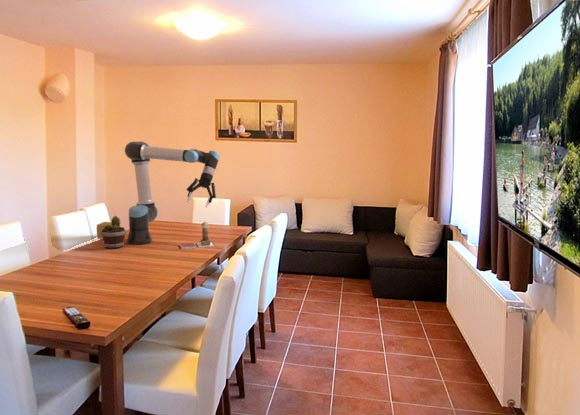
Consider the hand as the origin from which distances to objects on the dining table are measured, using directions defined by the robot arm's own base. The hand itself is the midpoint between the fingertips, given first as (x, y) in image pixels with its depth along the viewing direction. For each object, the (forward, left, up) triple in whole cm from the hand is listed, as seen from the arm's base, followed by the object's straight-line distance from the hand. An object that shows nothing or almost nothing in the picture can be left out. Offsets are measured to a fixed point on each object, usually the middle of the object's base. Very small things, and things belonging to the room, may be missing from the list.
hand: (197, 204), depth 286 cm
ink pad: (+10, -7, -25) cm, 28 cm away
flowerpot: (-1, -51, -25) cm, 57 cm away
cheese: (-31, -56, -25) cm, 69 cm away
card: (+8, +4, -25) cm, 26 cm away
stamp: (+8, +4, -25) cm, 26 cm away
